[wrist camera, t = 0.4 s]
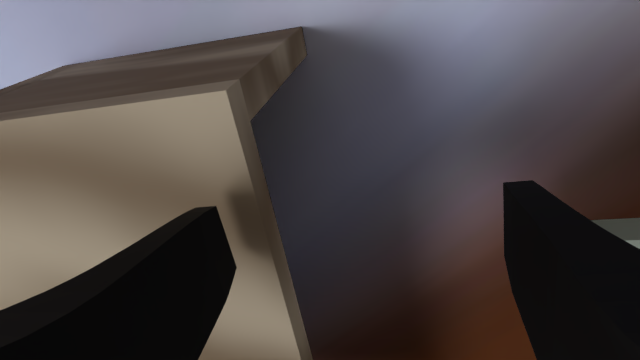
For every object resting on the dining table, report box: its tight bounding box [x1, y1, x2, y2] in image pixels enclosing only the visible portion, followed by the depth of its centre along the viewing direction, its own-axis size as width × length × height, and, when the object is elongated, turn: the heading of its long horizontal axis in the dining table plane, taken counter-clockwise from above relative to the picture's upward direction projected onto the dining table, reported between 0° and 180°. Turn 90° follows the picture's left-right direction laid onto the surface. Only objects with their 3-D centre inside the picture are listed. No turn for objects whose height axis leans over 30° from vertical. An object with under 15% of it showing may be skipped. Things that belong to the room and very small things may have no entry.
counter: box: [0, 27, 313, 360], centre depth 21 cm, size 19×12×9 cm, turn 10°
